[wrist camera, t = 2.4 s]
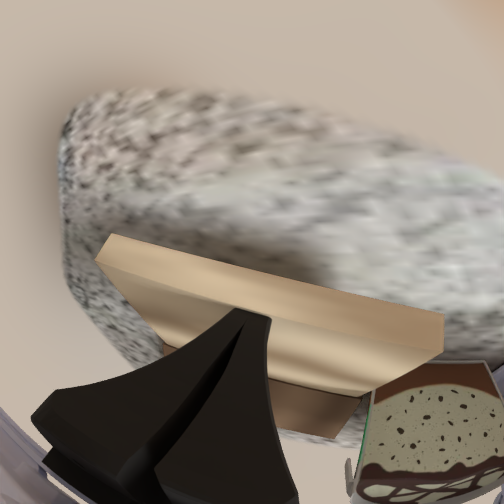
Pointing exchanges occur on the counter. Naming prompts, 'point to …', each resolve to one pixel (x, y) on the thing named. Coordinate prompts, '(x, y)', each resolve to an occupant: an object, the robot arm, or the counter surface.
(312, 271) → the counter surface
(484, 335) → the counter surface
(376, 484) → the food container
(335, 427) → the walnut board
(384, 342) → the oak plank
